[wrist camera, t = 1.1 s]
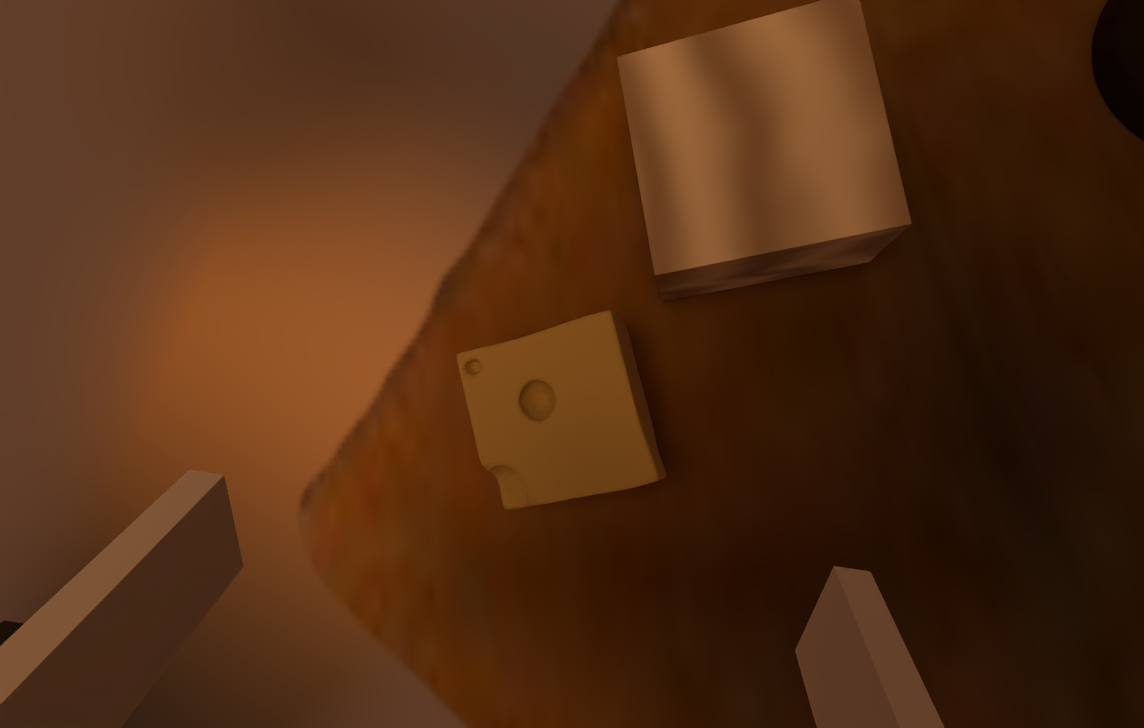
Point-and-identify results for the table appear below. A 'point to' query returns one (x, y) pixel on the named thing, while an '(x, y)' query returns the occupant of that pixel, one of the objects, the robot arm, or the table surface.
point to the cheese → (561, 413)
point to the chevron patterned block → (763, 150)
